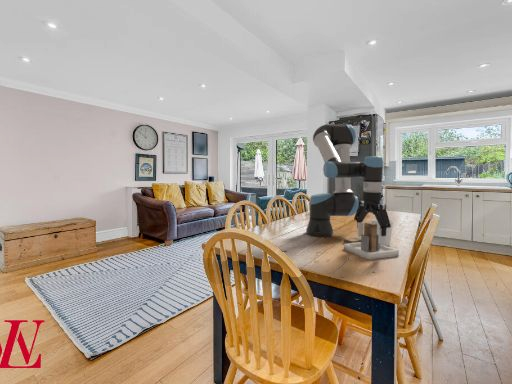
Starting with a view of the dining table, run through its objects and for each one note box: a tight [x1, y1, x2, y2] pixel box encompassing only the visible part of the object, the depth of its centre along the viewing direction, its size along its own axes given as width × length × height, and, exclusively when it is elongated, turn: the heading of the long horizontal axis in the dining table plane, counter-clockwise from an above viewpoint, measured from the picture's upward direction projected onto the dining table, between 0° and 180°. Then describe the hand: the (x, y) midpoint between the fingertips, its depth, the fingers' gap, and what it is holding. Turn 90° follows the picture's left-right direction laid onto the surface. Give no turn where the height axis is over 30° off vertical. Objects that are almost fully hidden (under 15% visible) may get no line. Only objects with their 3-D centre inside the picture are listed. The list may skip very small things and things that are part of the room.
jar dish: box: [343, 234, 400, 261], centre depth 117 cm, size 16×16×8 cm
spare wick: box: [343, 236, 361, 244], centre depth 133 cm, size 12×5×2 cm, turn 113°
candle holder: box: [370, 218, 394, 247], centre depth 132 cm, size 10×10×12 cm
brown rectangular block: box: [363, 221, 377, 252], centre depth 117 cm, size 5×2×12 cm, turn 19°
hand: (370, 239), depth 117 cm, fingers open, 12 cm apart
